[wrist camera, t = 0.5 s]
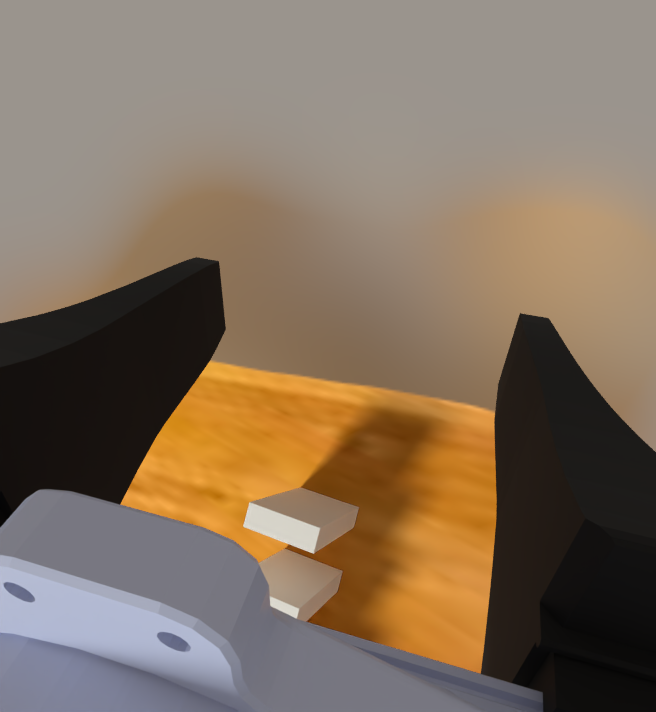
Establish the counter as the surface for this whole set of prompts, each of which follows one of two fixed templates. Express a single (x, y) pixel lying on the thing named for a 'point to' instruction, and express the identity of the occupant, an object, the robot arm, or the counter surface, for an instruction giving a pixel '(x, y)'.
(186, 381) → the robot arm
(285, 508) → the domino
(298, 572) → the domino
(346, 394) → the counter surface
